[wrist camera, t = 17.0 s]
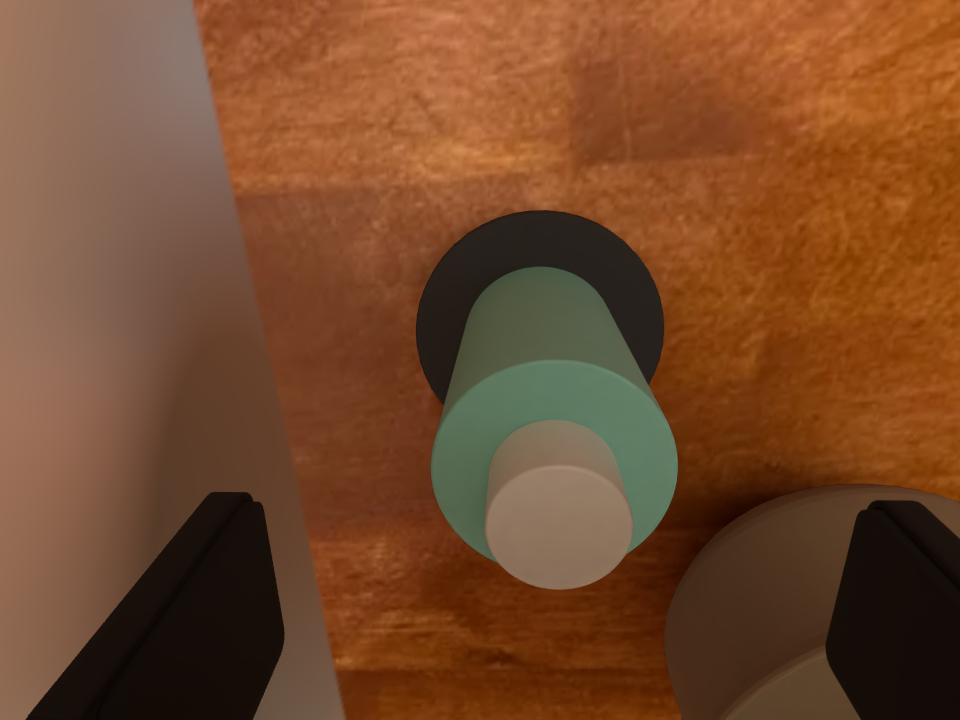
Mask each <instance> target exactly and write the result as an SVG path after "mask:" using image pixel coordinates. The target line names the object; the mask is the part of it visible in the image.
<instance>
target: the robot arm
mask: <svg viewBox="0 0 960 720" xmlns="http://www.w3.org/2000/svg"><path fill="white" fill-rule="evenodd" d="M283 644H284V625H283V619H282V613H281V608H280V601H279V596H278V590H277V585H276V578H275V572H274V567H273V561H272V555H271V549H270V544H269V538H268V532H267V526H266V520H265V514H264V509H263V506H262V504H261V503H260V502H253V498H252V497H251V495H250V494H249V493H247V492H212V493H210V494H209V495H208V496H207V497H206V498H205V499H204V500H203V501H202V503H201V504H200V505H199V506H198V507H197V509H196V510H195V511H194V512H193V514H192V515H191V516H190V517H189V519H188V520H187V521H186V522H185V524H184V525H183V526H182V527H181V529H180V530H179V531H178V532H177V533H176V535H175V536H174V537H173V538H172V540H171V541H170V542H169V543H168V544H167V546H166V547H165V548H164V549H163V551H162V552H161V553H160V554H159V555H158V557H157V558H156V559H155V560H154V562H153V563H152V564H151V565H150V566H149V568H148V569H147V570H146V571H145V573H144V574H143V575H142V576H141V578H140V579H139V580H138V581H137V583H136V584H135V585H134V586H133V587H132V589H131V590H130V591H129V592H128V594H127V595H126V596H125V597H124V598H123V600H122V601H121V602H120V603H119V605H118V606H117V607H116V608H115V610H114V611H113V612H112V613H111V614H110V616H109V617H108V618H107V619H106V621H105V622H104V623H103V624H102V626H101V627H100V628H99V629H98V631H97V632H96V633H95V634H94V635H93V637H92V638H91V639H90V640H89V641H88V643H87V644H86V645H85V646H84V648H83V649H82V650H81V651H80V653H79V654H78V655H77V656H76V657H75V659H74V660H73V661H72V662H71V664H70V665H69V666H68V667H67V668H66V670H65V671H64V672H63V673H62V675H61V676H60V677H59V678H58V680H57V681H56V682H55V683H54V684H53V686H52V687H51V688H50V689H49V691H48V692H47V693H46V694H45V695H44V697H43V698H42V699H41V700H40V702H39V703H38V704H37V705H36V707H35V708H34V709H33V710H32V712H31V713H30V714H29V715H28V717H27V718H26V720H253V718H254V715H255V713H256V711H257V708H258V706H259V704H260V701H261V699H262V697H263V695H264V692H265V690H266V688H267V685H268V683H269V681H270V678H271V676H272V674H273V671H274V669H275V667H276V664H277V662H278V660H279V657H280V655H281V652H282V649H283ZM825 649H826V656H827V660H828V663H829V666H830V668H831V670H832V672H833V673H834V675H835V677H836V678H837V680H838V682H839V684H840V685H841V687H842V689H843V690H844V692H845V694H846V695H847V697H848V699H849V701H850V702H851V704H852V706H853V707H854V709H855V711H856V712H857V714H858V716H859V718H860V719H861V720H960V538H959V537H958V536H957V535H955V534H954V533H953V532H952V531H951V530H950V529H949V528H948V527H947V526H946V525H945V524H944V523H942V522H941V521H940V520H939V519H938V518H937V517H936V516H935V515H934V514H933V513H932V512H931V511H929V510H928V509H927V508H926V507H925V506H924V505H923V504H921V503H920V502H918V501H913V500H875V501H873V502H871V503H870V504H869V506H868V508H867V509H864V510H861V511H860V512H859V513H858V515H857V517H856V521H855V525H854V529H853V533H852V537H851V541H850V545H849V549H848V553H847V557H846V561H845V565H844V569H843V573H842V578H841V582H840V586H839V590H838V594H837V598H836V602H835V606H834V610H833V614H832V618H831V622H830V626H829V630H828V634H827V639H826V644H825Z"/></svg>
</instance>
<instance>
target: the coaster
mask: <svg viewBox="0 0 960 720" xmlns="http://www.w3.org/2000/svg"><path fill="white" fill-rule="evenodd" d="M530 267H551V268H557V269H561V270H565V271H567V272H570V273H572V274H574V275H576V276H578V277H580V278H582V279H583V280H584V281H586V282H587V283H588V284H590V285H591V286H592V287H593V288H594V289H595V290H596V291H597V292H598V294H599V295H600V296H601V297H602V299H603V300H604V302H605V304H606V306H607V307H608V309H609V311H610V313H611V315H612V317H613V319H614V321H615V323H616V325H617V327H618V328H619V330H620V332H621V334H622V336H623V338H624V340H625V342H626V344H627V346H628V348H629V349H630V351H631V353H632V355H633V357H634V359H635V361H636V363H637V365H638V367H639V369H640V370H641V372H642V374H643V376H644V378H645V380H646V382H647V384H648V385H649V383H650V381H651V379H652V377H653V375H654V373H655V370H656V367H657V365H658V362H659V359H660V355H661V350H662V346H663V336H664V320H663V310H662V305H661V300H660V296H659V293H658V291H657V288H656V285H655V282H654V280H653V279H652V277H651V275H650V273H649V271H648V269H647V267H646V266H645V265H644V263H643V262H642V261H641V259H640V258H639V257H638V255H637V254H636V253H635V252H634V251H633V250H632V249H631V248H630V247H629V246H628V245H627V244H626V243H625V242H624V241H623V240H622V239H620V238H619V237H618V236H617V235H615V234H614V233H613V232H611V231H610V230H608V229H606V228H605V227H603V226H601V225H599V224H598V223H596V222H593V221H591V220H588V219H586V218H583V217H581V216H577V215H573V214H569V213H565V212H557V211H548V210H542V211H525V212H519V213H513V214H510V215H506V216H503V217H499V218H496V219H494V220H492V221H490V222H487V223H485V224H483V225H481V226H479V227H478V228H476V229H474V230H473V231H471V232H470V233H468V234H467V235H465V236H464V237H463V238H462V239H460V240H459V241H458V242H457V243H456V244H454V245H453V247H452V248H451V249H450V250H449V251H448V252H447V253H446V254H445V255H444V256H443V258H442V259H441V260H440V262H439V263H438V265H437V266H436V268H435V269H434V271H433V272H432V274H431V276H430V278H429V280H428V282H427V284H426V286H425V289H424V291H423V294H422V297H421V300H420V304H419V309H418V314H417V324H416V338H417V348H418V353H419V358H420V362H421V365H422V368H423V371H424V374H425V376H426V378H427V380H428V382H429V384H430V386H431V388H432V389H433V391H434V392H435V394H436V395H437V397H438V398H439V400H440V401H441V402H442V403H443V404H445V400H446V396H447V393H448V389H449V385H450V382H451V378H452V374H453V371H454V367H455V363H456V360H457V356H458V352H459V348H460V345H461V341H462V337H463V334H464V330H465V326H466V323H467V319H468V316H469V314H470V311H471V309H472V307H473V305H474V303H475V302H476V300H477V299H478V297H479V296H480V295H481V293H482V292H483V291H484V290H485V289H486V288H487V287H488V286H489V285H491V284H492V283H493V282H495V281H496V280H497V279H499V278H501V277H502V276H504V275H506V274H509V273H511V272H513V271H516V270H520V269H523V268H530Z"/></svg>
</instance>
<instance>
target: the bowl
mask: <svg viewBox="0 0 960 720" xmlns="http://www.w3.org/2000/svg"><path fill="white" fill-rule="evenodd" d="M875 500H913V501H918V502H920V503H921V504H923V505H924V506H925V507H926V508H927V509H928V510H929V511H931V512H932V513H933V514H934V515H935V516H936V517H937V518H938V519H939V520H940V521H941V522H942V523H944V524H945V525H946V526H947V527H948V528H949V529H950V530H951V531H952V532H953V533H954V534H955V535H957V536H958V537H959V538H960V502H958V501H955V500H952V499H949V498H946V497H943V496H940V495H936V494H932V493H928V492H924V491H920V490H915V489H909V488H902V487H895V486H886V485H874V484H838V485H827V486H821V487H815V488H809V489H805V490H800V491H796V492H792V493H789V494H786V495H783V496H780V497H777V498H774V499H772V500H770V501H767V502H765V503H762V504H760V505H758V506H756V507H754V508H752V509H750V510H749V511H747V512H745V513H744V514H742V515H740V516H739V517H737V518H736V519H735V520H733V521H732V522H730V523H729V524H728V525H726V526H725V527H724V528H722V529H721V530H720V531H719V532H718V533H717V534H715V535H714V536H713V537H712V538H711V539H710V540H709V541H708V542H707V543H706V545H705V546H704V547H703V548H702V549H701V551H700V552H699V553H698V554H697V556H696V557H695V558H694V559H693V561H692V563H691V564H690V566H689V567H688V569H687V570H686V572H685V573H684V575H683V577H682V578H681V580H680V582H679V584H678V586H677V588H676V590H675V592H674V595H673V598H672V601H671V603H670V606H669V609H668V613H667V617H666V622H665V632H664V647H665V657H666V662H667V667H668V672H669V676H670V680H671V684H672V687H673V690H674V694H675V697H676V700H677V704H678V707H679V710H680V714H681V717H682V720H861V719H860V718H859V716H858V714H857V712H856V711H855V709H854V707H853V706H852V704H851V702H850V701H849V699H848V697H847V695H846V694H845V692H844V690H843V689H842V687H841V685H840V684H839V682H838V680H837V678H836V677H835V675H834V673H833V672H832V670H831V668H830V666H829V663H828V660H827V656H826V649H825V644H826V639H827V634H828V630H829V626H830V622H831V618H832V614H833V610H834V606H835V602H836V598H837V594H838V590H839V586H840V582H841V578H842V573H843V569H844V565H845V561H846V557H847V553H848V549H849V545H850V541H851V537H852V533H853V529H854V525H855V521H856V517H857V515H858V513H859V512H860V511H861V510H864V509H867V508H868V506H869V504H870V503H871V502H873V501H875Z"/></svg>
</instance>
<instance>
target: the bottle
mask: <svg viewBox="0 0 960 720" xmlns="http://www.w3.org/2000/svg"><path fill="white" fill-rule="evenodd" d="M677 473H678V457H677V449H676V445H675V440H674V437H673V434H672V432H671V429H670V426H669V424H668V422H667V420H666V418H665V416H664V414H663V412H662V411H661V409H660V407H659V405H658V403H657V401H656V399H655V397H654V395H653V393H652V391H651V390H650V388H649V386H648V384H647V382H646V380H645V378H644V376H643V374H642V372H641V370H640V369H639V367H638V365H637V363H636V361H635V359H634V357H633V355H632V353H631V351H630V349H629V348H628V346H627V344H626V342H625V340H624V338H623V336H622V334H621V332H620V330H619V328H618V327H617V325H616V323H615V321H614V319H613V317H612V315H611V313H610V311H609V309H608V307H607V306H606V304H605V302H604V300H603V299H602V297H601V296H600V295H599V294H598V292H597V291H596V290H595V289H594V288H593V287H592V286H591V285H590V284H588V283H587V282H586V281H584V280H583V279H582V278H580V277H578V276H576V275H574V274H572V273H570V272H567V271H565V270H561V269H557V268H551V267H530V268H523V269H520V270H516V271H513V272H511V273H509V274H506V275H504V276H502V277H501V278H499V279H497V280H496V281H495V282H493V283H492V284H491V285H489V286H488V287H487V288H486V289H485V290H484V291H483V292H482V293H481V295H480V296H479V297H478V299H477V300H476V302H475V303H474V305H473V307H472V309H471V311H470V314H469V316H468V319H467V323H466V326H465V330H464V334H463V337H462V341H461V345H460V348H459V352H458V356H457V360H456V363H455V367H454V371H453V374H452V378H451V382H450V385H449V389H448V393H447V396H446V400H445V404H444V407H443V411H442V415H441V418H440V422H439V426H438V429H437V433H436V437H435V441H434V445H433V449H432V456H431V480H432V485H433V489H434V494H435V496H436V499H437V502H438V505H439V507H440V509H441V511H442V513H443V514H444V516H445V518H446V520H447V521H448V523H449V524H450V525H451V527H452V528H453V530H454V531H455V532H456V533H457V534H458V535H459V536H460V537H461V538H462V539H463V540H464V541H465V542H466V543H467V544H468V545H469V546H471V547H472V548H473V549H474V550H475V551H477V552H479V553H480V554H482V555H483V556H485V557H486V558H488V559H490V560H492V561H494V562H496V563H499V564H500V565H501V566H502V567H503V568H504V569H505V570H506V571H507V572H508V573H510V574H511V575H512V576H514V577H515V578H517V579H519V580H521V581H523V582H525V583H527V584H530V585H533V586H536V587H540V588H545V589H554V590H564V589H573V588H578V587H582V586H585V585H588V584H591V583H593V582H595V581H598V580H599V579H601V578H603V577H604V576H606V575H607V574H608V573H610V572H611V571H612V570H613V569H614V568H615V567H616V566H617V565H618V564H619V563H620V562H621V560H622V559H623V558H624V556H625V555H626V554H627V553H629V552H630V551H632V550H633V549H634V548H636V547H637V546H638V545H640V544H641V543H642V542H643V541H644V540H645V539H646V538H647V537H648V536H649V535H650V534H651V533H652V532H653V531H654V529H655V528H656V527H657V525H658V524H659V523H660V521H661V520H662V518H663V516H664V515H665V513H666V511H667V509H668V507H669V505H670V502H671V500H672V497H673V494H674V490H675V486H676V482H677Z"/></svg>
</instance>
